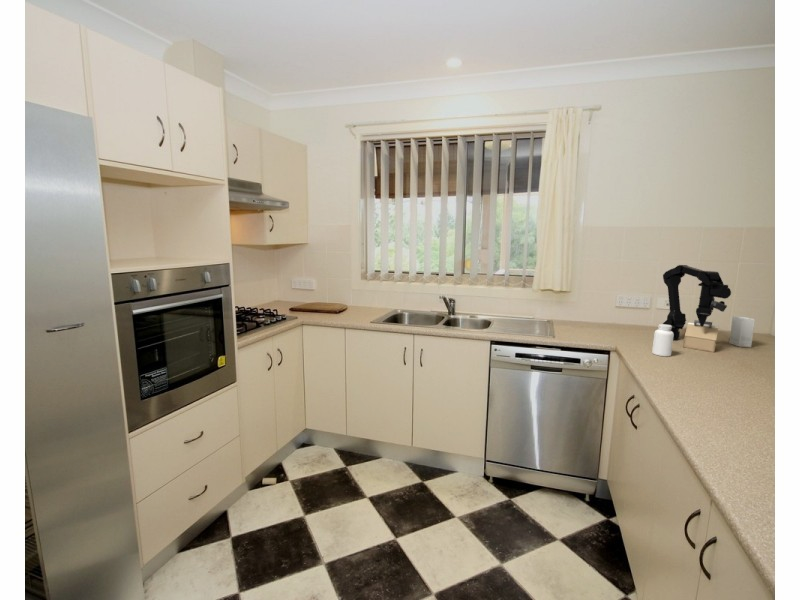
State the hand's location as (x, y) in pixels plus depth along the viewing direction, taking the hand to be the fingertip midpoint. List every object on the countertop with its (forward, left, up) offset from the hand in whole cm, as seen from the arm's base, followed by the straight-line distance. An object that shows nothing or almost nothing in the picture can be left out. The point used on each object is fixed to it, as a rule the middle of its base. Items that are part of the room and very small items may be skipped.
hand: (702, 324), depth 204 cm
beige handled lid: (0, +1, -4) cm, 4 cm away
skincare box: (+16, +25, -13) cm, 33 cm away
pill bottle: (-13, -29, -13) cm, 34 cm away
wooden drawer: (0, +1, -13) cm, 13 cm away
